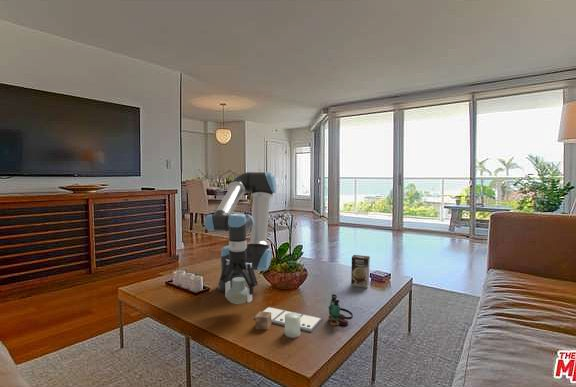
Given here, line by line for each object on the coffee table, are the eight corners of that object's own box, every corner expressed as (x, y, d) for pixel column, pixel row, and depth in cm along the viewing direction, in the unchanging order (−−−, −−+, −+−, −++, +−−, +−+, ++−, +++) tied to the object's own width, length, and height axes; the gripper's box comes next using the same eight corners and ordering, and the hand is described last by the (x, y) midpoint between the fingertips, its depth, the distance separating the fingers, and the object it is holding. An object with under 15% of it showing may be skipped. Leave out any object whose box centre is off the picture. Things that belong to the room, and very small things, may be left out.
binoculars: (356, 302, 128) (332, 300, 128) (353, 328, 129) (329, 326, 128) (350, 294, 137) (327, 292, 137) (347, 318, 138) (324, 316, 137)
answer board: (254, 318, 136) (254, 316, 136) (268, 308, 146) (268, 305, 146) (311, 332, 124) (311, 329, 124) (322, 320, 134) (322, 317, 134)
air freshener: (252, 297, 145) (251, 275, 145) (250, 305, 137) (250, 282, 136) (227, 297, 145) (227, 276, 144) (224, 305, 137) (224, 282, 136)
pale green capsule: (281, 335, 122) (281, 317, 121) (289, 328, 127) (289, 311, 127) (296, 339, 119) (296, 320, 119) (302, 332, 124) (303, 314, 124)
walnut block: (255, 328, 127) (255, 316, 127) (259, 323, 132) (259, 311, 132) (267, 330, 126) (267, 317, 126) (271, 324, 131) (271, 312, 131)
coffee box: (350, 286, 176) (351, 257, 175) (353, 282, 182) (353, 254, 181) (367, 288, 173) (368, 258, 172) (369, 284, 179) (369, 255, 178)
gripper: (210, 248, 141) (212, 297, 143) (255, 255, 130) (256, 307, 132) (221, 244, 148) (223, 291, 150) (265, 250, 137) (266, 300, 139)
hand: (238, 298), depth 141 cm, fingers closed on air freshener, 11 cm apart
